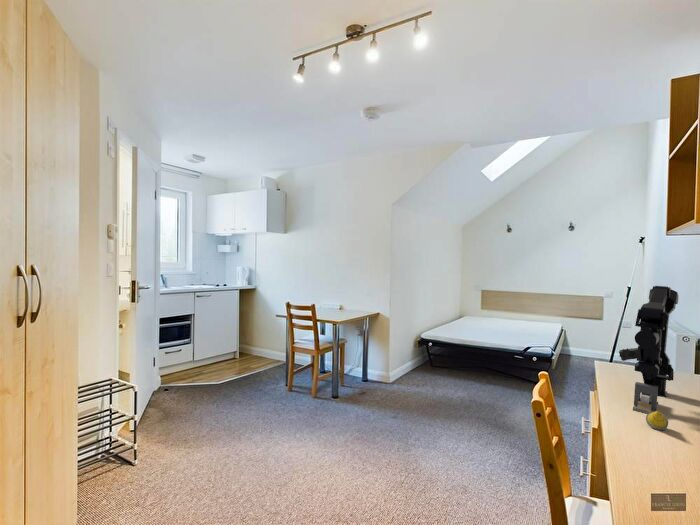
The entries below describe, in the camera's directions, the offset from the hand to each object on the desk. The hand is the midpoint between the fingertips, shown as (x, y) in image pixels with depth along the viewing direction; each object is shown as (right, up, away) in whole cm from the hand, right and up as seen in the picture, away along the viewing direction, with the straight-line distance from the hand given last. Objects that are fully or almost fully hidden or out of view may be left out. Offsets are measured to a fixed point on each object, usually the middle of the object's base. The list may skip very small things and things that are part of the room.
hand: (646, 388), depth 133 cm
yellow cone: (-9, -7, -16) cm, 20 cm away
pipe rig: (0, -7, +1) cm, 7 cm away
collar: (-2, -6, -2) cm, 6 cm away
